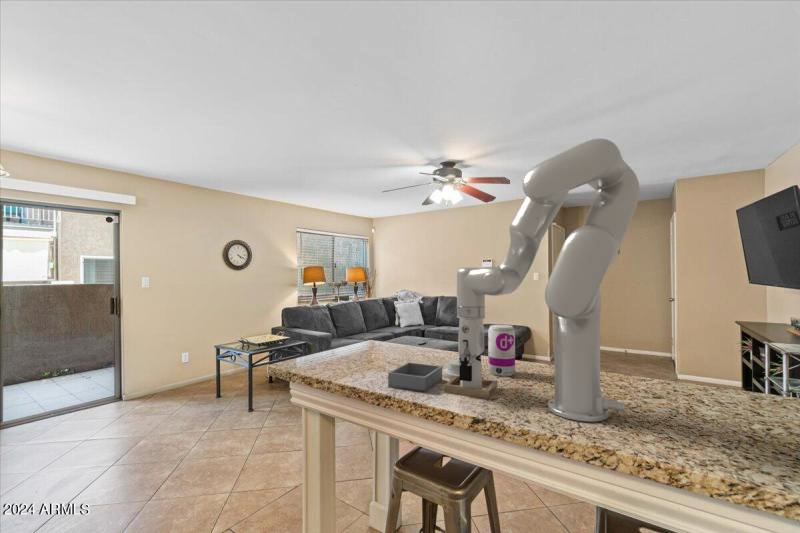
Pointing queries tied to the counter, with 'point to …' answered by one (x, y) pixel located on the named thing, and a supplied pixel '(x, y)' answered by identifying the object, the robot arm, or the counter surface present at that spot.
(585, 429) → the counter surface
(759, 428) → the counter surface
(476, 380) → the eye dropper bottle
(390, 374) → the bin
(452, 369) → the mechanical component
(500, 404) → the counter surface
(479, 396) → the shallow brown tray
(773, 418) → the counter surface
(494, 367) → the supplement can
